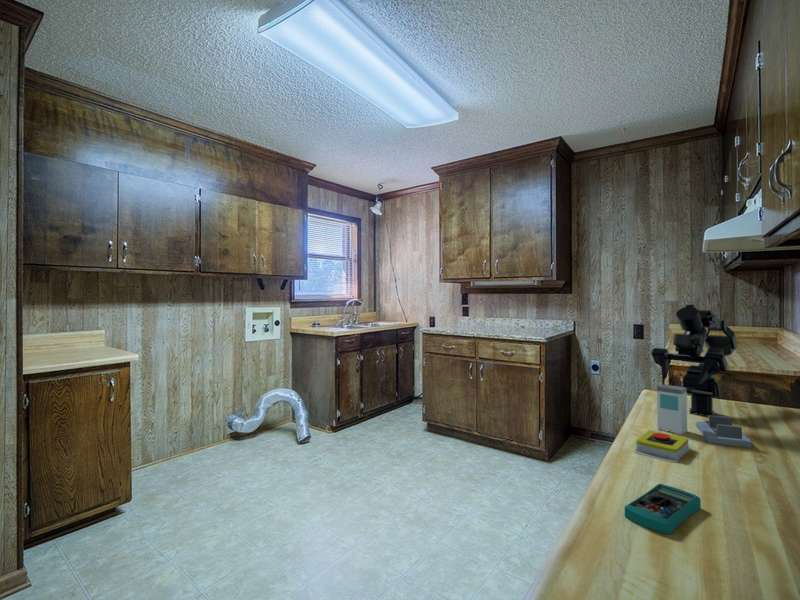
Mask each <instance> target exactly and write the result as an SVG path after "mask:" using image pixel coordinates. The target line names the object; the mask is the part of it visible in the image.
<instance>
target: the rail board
mask: <svg viewBox="0 0 800 600" xmlns="http://www.w3.org/2000/svg"><path fill="white" fill-rule="evenodd" d="M695 425H696V426H697V427H696V426H695V427H696V428H697V429H698V431H699V430H700V431H699V432H700V434H701V435H702V436H703V438H705V440H706V441H707V443H708V444H717V445H724V446H731V447H733V446H734V447H740V446H742V448H749V447H750V449H753V441H751V439H750V438H749V437H748V436H746V434H745V433H743V432H742V441H739V440H730V439H720V438H717V436H716V435H715V434H714V433H713V432H712V430H711V429H710V428H709V427H708V426H707V424H706V423H705V422H704V421H700V420H699V421H698V420H696V421H695ZM732 425H733V426H736V425H735V424H732Z"/></svg>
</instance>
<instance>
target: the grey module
mask: <svg viewBox="0 0 800 600" xmlns="http://www.w3.org/2000/svg"><path fill="white" fill-rule="evenodd" d="M656 387H657V388H656V389H657V390H656V393H657V396H656V398H657V403H656V404H657V430H658V429H662V430H661V431H663V430H668V431H672V432H675V433H674V434H677V433H679V434H678V435H681V434H682V435H683V434H685V433H686V431H687V432H688V393H687V388H685V387H684V386H677V385H669V384H664V383H663V384H661V385H658V386H656ZM672 432H671V433H672ZM684 432H685V433H684Z"/></svg>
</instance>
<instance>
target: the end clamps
mask: <svg viewBox="0 0 800 600" xmlns="http://www.w3.org/2000/svg"><path fill="white" fill-rule="evenodd" d="M708 421H709V427H716V428H717V436H718V437H726V438H735V439H742V433H743V427H742V426H741V425H735V426H733V425H734V424H733V418H732V417H731V416H724V415H723V416H722V415H714V416H713V415H709V416H708Z"/></svg>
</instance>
